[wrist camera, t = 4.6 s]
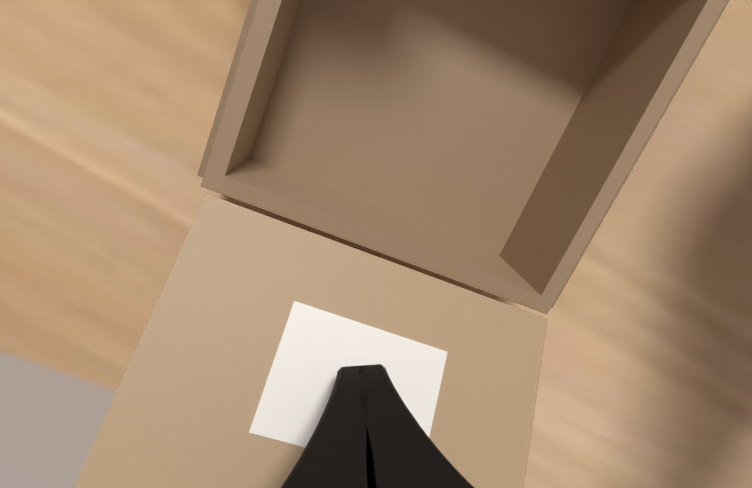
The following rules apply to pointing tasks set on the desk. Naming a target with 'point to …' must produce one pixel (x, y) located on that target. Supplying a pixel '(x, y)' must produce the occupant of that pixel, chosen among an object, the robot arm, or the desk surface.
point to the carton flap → (308, 361)
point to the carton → (451, 124)
